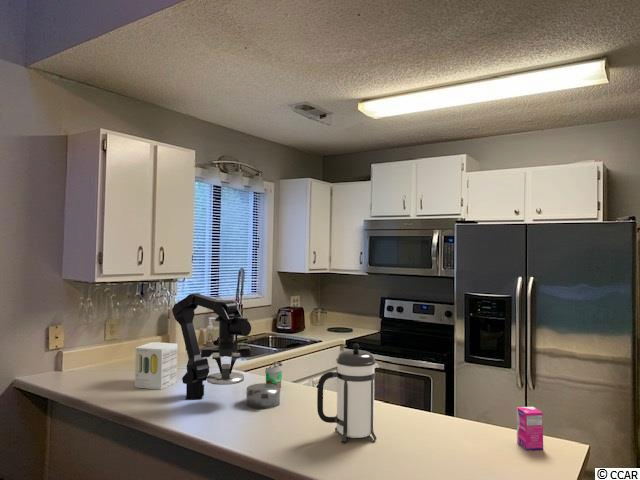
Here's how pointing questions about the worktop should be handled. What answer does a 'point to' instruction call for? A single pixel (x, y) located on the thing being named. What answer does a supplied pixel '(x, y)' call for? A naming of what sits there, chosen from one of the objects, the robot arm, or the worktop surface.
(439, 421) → the worktop surface
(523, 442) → the supplement box
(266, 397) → the pot
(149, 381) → the supplement box
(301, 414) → the worktop surface
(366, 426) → the coffee press
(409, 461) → the worktop surface
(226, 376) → the lid
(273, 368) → the food container
